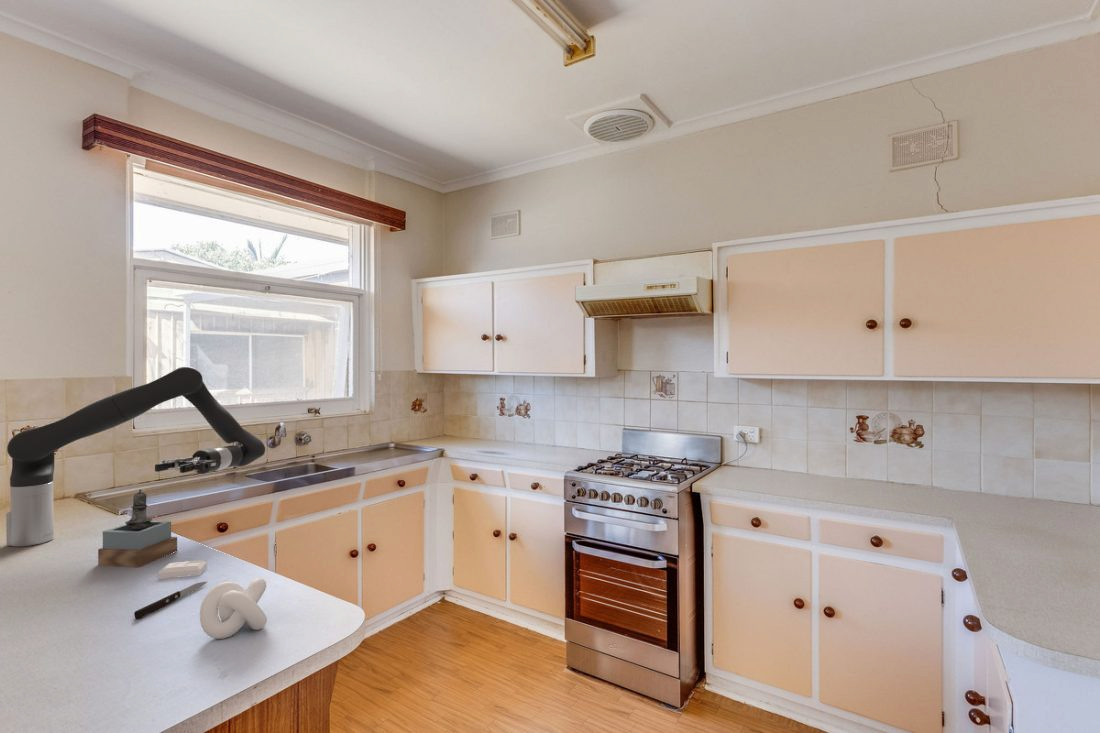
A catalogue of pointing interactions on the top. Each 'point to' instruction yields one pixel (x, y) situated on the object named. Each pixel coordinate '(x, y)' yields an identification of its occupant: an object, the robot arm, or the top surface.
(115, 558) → the tower base
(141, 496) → the salt shaker
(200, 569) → the soap bar
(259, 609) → the white knot sculpture
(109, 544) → the blue-grey square tray
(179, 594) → the kitchen knife
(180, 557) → the top surface
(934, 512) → the top surface
